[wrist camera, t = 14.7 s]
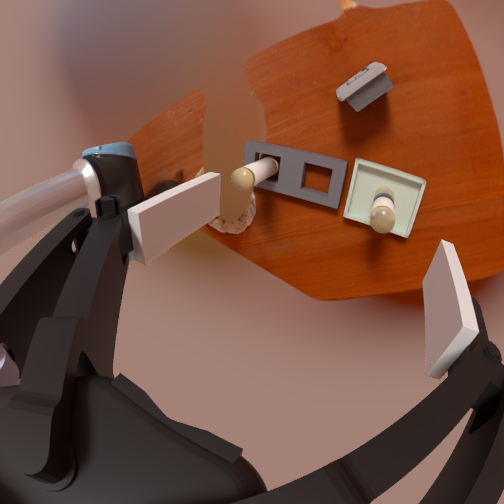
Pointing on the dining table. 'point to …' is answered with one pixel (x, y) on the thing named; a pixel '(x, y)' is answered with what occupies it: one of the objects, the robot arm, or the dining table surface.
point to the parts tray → (377, 176)
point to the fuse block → (299, 172)
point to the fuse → (254, 173)
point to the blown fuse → (383, 211)
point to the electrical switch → (365, 86)
